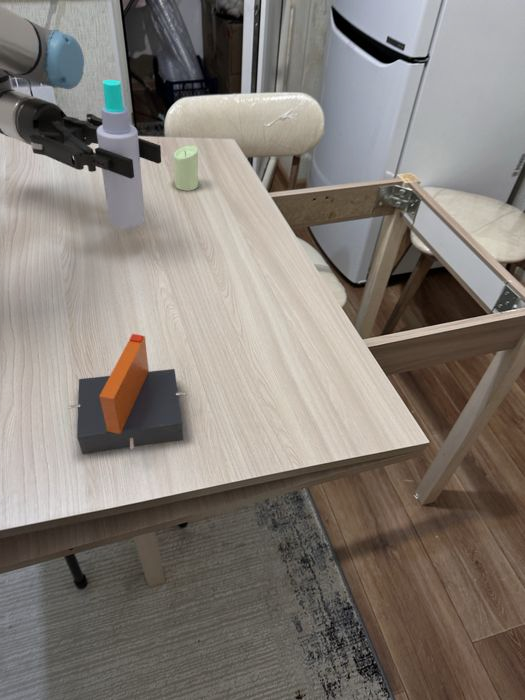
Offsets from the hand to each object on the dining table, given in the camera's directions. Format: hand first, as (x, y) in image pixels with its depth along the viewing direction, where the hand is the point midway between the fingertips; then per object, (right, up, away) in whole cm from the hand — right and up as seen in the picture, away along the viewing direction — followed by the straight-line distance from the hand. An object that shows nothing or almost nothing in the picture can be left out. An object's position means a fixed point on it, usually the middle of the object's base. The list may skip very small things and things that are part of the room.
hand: (145, 161), depth 75 cm
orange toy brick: (+2, -35, -15) cm, 38 cm away
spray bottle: (-6, -7, +10) cm, 13 cm away
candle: (+1, +7, +33) cm, 33 cm away
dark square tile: (+1, -38, -12) cm, 40 cm away
